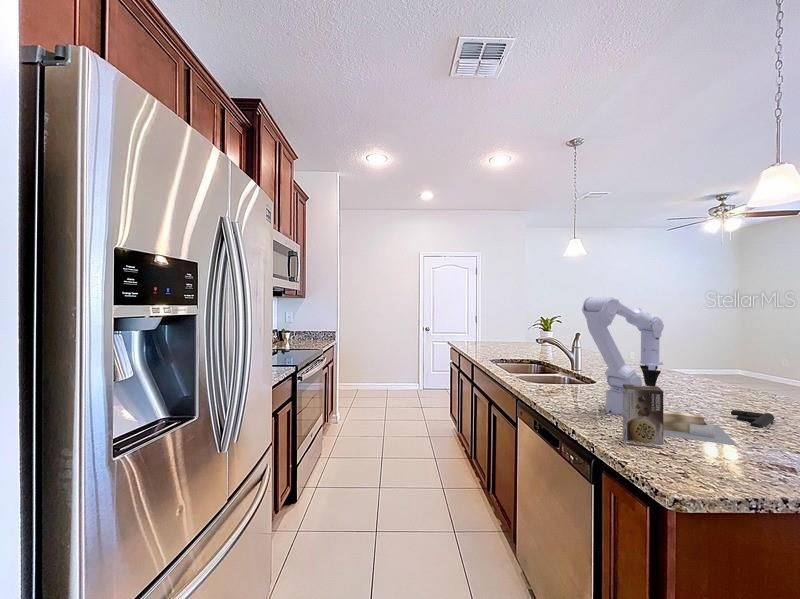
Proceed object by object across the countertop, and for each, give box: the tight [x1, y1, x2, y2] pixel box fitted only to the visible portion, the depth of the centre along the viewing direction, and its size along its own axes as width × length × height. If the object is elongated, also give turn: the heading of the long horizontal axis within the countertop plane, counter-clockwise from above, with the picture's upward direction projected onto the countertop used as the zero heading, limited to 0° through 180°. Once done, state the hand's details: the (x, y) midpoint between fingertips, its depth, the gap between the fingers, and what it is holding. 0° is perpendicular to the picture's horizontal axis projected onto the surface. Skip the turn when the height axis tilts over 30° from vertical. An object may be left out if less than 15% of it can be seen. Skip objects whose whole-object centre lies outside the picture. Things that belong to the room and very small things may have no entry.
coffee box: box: [622, 384, 665, 450], centre depth 113 cm, size 9×6×16 cm
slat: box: [663, 410, 705, 433], centre depth 121 cm, size 14×3×5 cm, turn 64°
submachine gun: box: [720, 409, 776, 429], centre depth 135 cm, size 3×20×16 cm
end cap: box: [689, 420, 714, 438], centre depth 119 cm, size 6×6×3 cm
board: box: [663, 423, 739, 447], centre depth 122 cm, size 20×20×2 cm
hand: (649, 387), depth 144 cm, fingers open, 7 cm apart
